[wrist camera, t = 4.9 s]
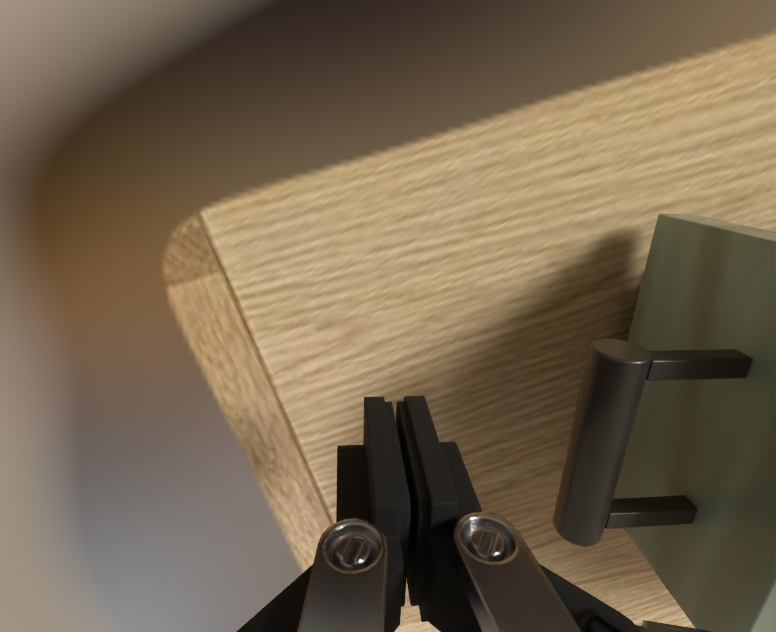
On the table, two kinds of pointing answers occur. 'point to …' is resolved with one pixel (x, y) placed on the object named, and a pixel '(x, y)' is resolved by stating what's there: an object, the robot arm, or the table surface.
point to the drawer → (688, 425)
